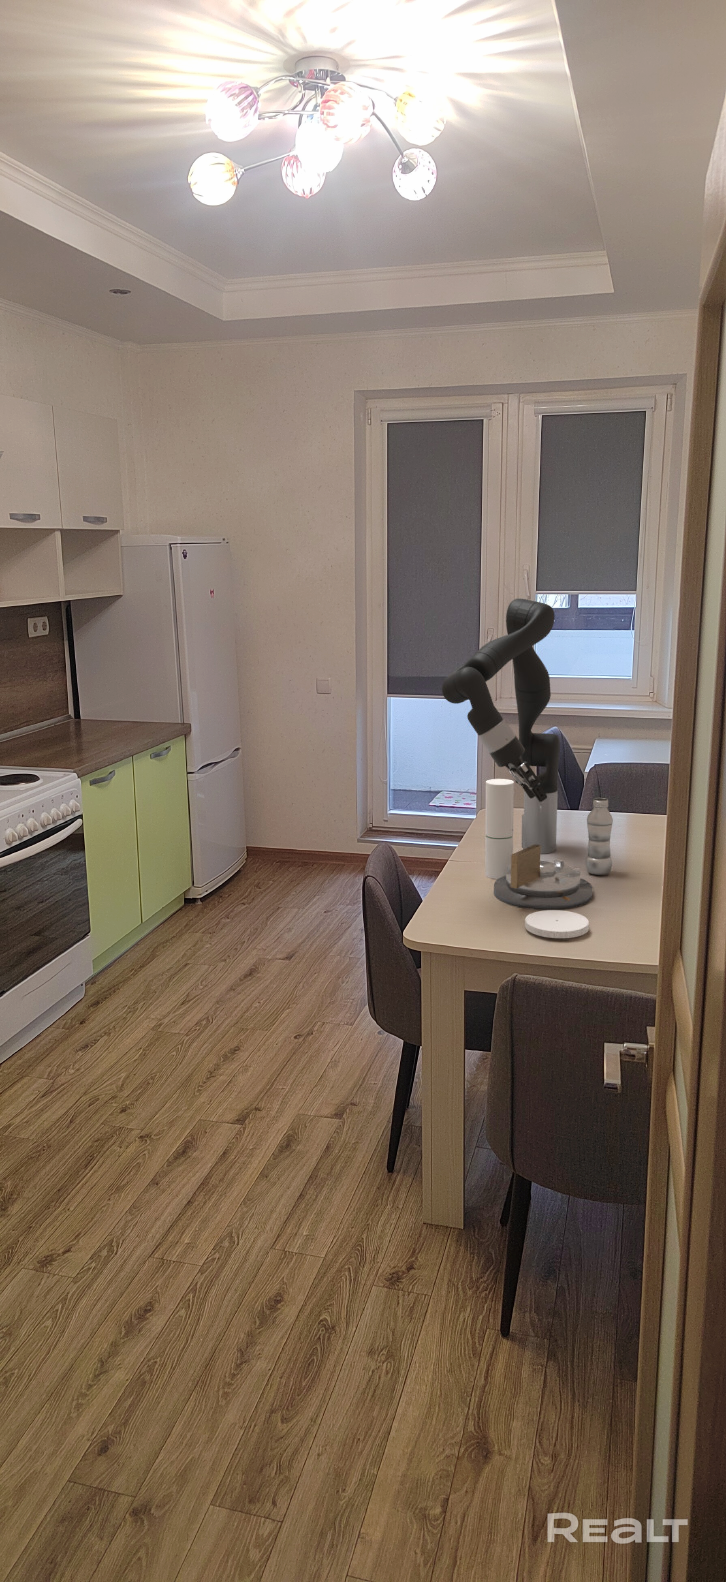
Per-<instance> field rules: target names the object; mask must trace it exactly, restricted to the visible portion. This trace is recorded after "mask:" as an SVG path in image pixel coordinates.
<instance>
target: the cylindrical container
mask: <svg viewBox="0 0 726 1582" xmlns="http://www.w3.org/2000/svg"><path fill="white" fill-rule="evenodd" d="M514 790H515V780H511V779H507V778H491V779H488V780H486V781H485V821H484V822H485V830H484V831H485V832H484V833H485V838H484V840H485V842H484V843H485V844H484V846H485V847H484V849H485V851H484V853H485V854H484V856H485V857H484V858H485V859H484V875H485V877H487V878H489V879H493V880H497V879H499V878H501V877H503V876H506V871H507V866H509V867H511V855H512V854H514V803H515V800H514V799H515V797H514V796H515V792H514Z"/></svg>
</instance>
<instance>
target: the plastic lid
mask: <svg viewBox="0 0 726 1582" xmlns="http://www.w3.org/2000/svg"><path fill="white" fill-rule="evenodd" d="M524 927H525V929H526V930H527V931H528V932H529V933H531V934H534V935H536V936H539V937H544V938H550V939H551V938H552V939H571V938H577V937H580V936H583V935H586V934H587V933H588V931H589V930H590V921H589V919H588V918H587V917H586V916H584V915H583V914H580V913H578V912H572V911H569V910H564V909H562V910H538V911H536V912H535V911H534V912H532V913H529V914H527V916H525V919H524Z"/></svg>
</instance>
